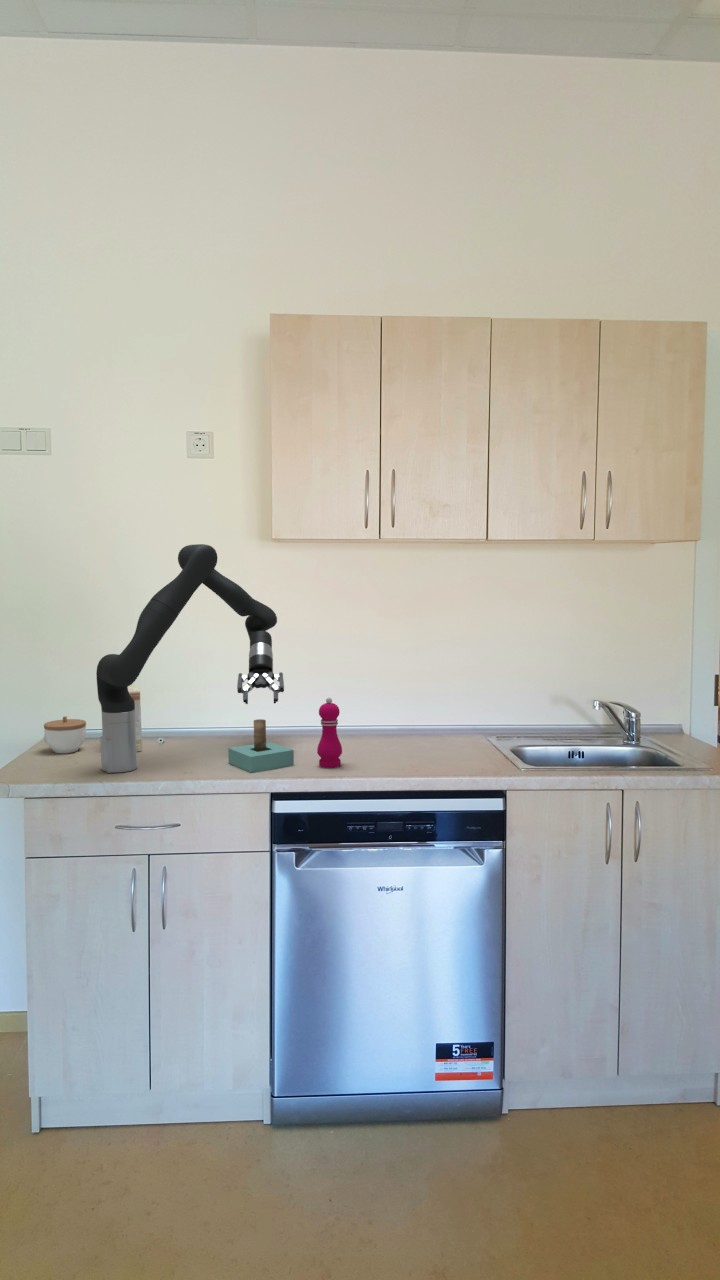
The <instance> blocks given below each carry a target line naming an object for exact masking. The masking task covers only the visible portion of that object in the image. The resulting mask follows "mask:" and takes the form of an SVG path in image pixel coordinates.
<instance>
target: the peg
mask: <svg viewBox="0 0 720 1280" xmlns="http://www.w3.org/2000/svg"><path fill="white" fill-rule="evenodd" d="M266 721H267V720H266V719H260V718H259V719H254V720H253V744H254V751H256V752H259V751H266V742H267V725H266V724H267V722H266Z"/></svg>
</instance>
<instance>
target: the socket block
mask: <svg viewBox="0 0 720 1280" xmlns="http://www.w3.org/2000/svg"><path fill="white" fill-rule="evenodd" d="M294 755H295V754H294V749H292V748H289V747H286V746H283V745H281V744H278V743H274V742H270V741H266V751H259V752H256V751H254V743H253V744H247V745H239V746H234V747H228V764H230V765H231V766H234V767H237V768H239V769H241V770H244V771H246V772H249V773H256V772H263V771H269V770H273V769H279V768H285V767H290V766H291V767H292V766H295V760H294V759H295V758H294Z"/></svg>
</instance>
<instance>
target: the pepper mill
mask: <svg viewBox="0 0 720 1280" xmlns="http://www.w3.org/2000/svg"><path fill="white" fill-rule="evenodd" d="M340 714H341V713H340V707H339V706H338V705H337V704H336V703H333V699H332V698H331V697H327V698H326V699H325V703H322V704H321V705H320V707H319V709H318V715H319V717H320V718H321V719H320V725H321V727H322V728H321V729H322V731H321V732H322V733H321V737H320V740H319V742H318V745H317V750H316V751H317V754H318V756H319V757H320V758H319V760H318V766H319V767H320V768H323V767H324V769H335V767H336V768H339V767H341V765H342V763H341V762H342V761H341V760H342V759H340V757H341V756H342V754H343V747H342V744H341V742H340V739H339V737H338V732H337V726H338V724H339V720H338V717H339V716H340Z"/></svg>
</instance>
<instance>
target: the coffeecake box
mask: <svg viewBox="0 0 720 1280" xmlns="http://www.w3.org/2000/svg"><path fill="white" fill-rule="evenodd" d="M128 692H129V694H130V696H131V697H132V698H133V699H134V702H135V725H136V752H137V751H142V752H143V739H142V738H143V735H142V714H141V713H142V711H141V710H142V709H141V705H142V704H141V691H140V690H139V688H138V686H137V685H136V684H131V685H130V686H128ZM137 753H138V752H137Z"/></svg>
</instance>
